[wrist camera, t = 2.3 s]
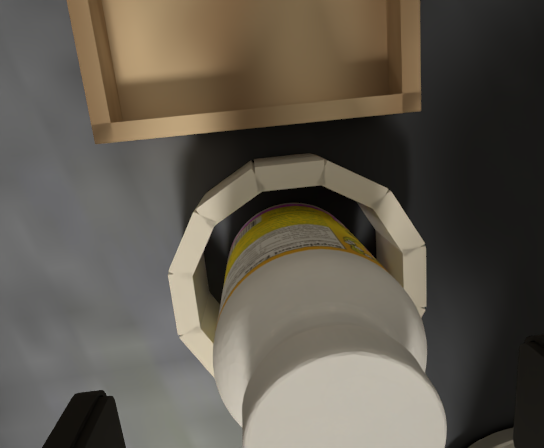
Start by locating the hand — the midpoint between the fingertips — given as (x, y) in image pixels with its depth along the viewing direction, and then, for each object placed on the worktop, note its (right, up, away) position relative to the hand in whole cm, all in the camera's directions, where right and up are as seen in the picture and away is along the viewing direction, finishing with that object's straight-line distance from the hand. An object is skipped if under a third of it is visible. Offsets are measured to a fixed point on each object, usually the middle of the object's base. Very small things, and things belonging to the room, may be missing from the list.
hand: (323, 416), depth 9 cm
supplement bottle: (0, +2, +12) cm, 13 cm away
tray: (-2, +15, +9) cm, 18 cm away
